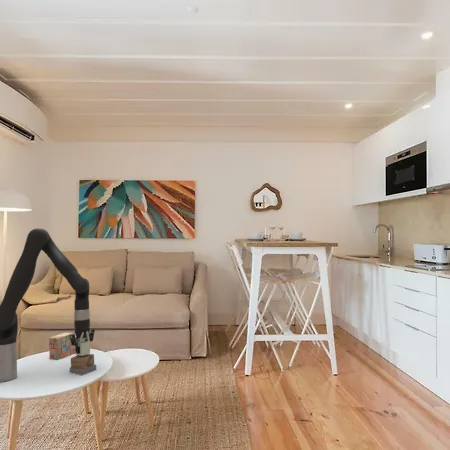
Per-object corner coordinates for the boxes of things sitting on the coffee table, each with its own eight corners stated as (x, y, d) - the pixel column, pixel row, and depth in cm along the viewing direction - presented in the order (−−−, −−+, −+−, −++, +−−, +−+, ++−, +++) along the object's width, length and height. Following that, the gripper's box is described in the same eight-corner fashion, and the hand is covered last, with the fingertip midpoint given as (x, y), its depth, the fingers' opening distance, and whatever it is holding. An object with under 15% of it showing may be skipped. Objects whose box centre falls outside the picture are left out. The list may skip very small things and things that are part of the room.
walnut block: (84, 369, 203) (84, 359, 203) (70, 368, 205) (70, 358, 205) (94, 364, 211) (94, 354, 211) (80, 363, 213) (80, 353, 213)
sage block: (82, 355, 205) (81, 343, 205) (75, 354, 207) (75, 342, 207) (90, 353, 209) (89, 341, 209) (83, 351, 211) (83, 340, 212)
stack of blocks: (77, 349, 250) (76, 328, 250) (85, 350, 248) (84, 329, 248) (49, 359, 230) (48, 337, 231) (57, 360, 228) (57, 338, 228)
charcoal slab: (81, 376, 202) (81, 370, 202) (69, 373, 206) (69, 367, 206) (96, 370, 209) (96, 364, 209) (84, 368, 214) (84, 362, 214)
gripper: (88, 314, 216) (89, 347, 216) (65, 320, 204) (65, 354, 204) (98, 316, 212) (99, 349, 212) (74, 321, 200) (75, 356, 200)
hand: (82, 351), depth 208 cm, fingers closed on sage block, 5 cm apart
